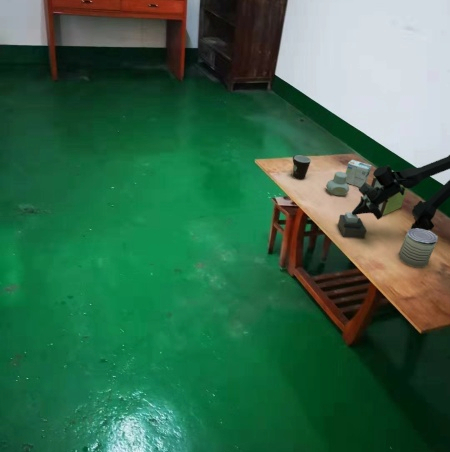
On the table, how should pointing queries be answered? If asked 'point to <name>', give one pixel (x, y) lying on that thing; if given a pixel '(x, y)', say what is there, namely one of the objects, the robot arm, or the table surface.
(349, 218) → the pad
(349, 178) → the light bulb box
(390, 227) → the table surface
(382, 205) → the protein box
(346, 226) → the stepped grey pedestal
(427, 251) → the can
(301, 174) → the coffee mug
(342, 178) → the air freshener
